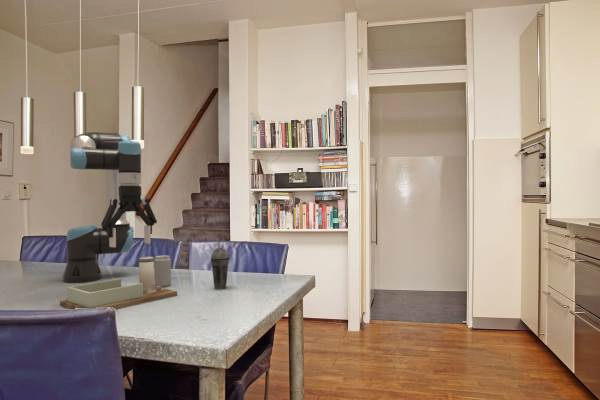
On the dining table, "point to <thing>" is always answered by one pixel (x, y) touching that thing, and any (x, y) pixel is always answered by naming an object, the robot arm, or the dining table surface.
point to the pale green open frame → (103, 293)
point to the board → (147, 297)
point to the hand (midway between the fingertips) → (130, 245)
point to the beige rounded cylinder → (146, 273)
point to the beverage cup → (220, 267)
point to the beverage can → (162, 271)
